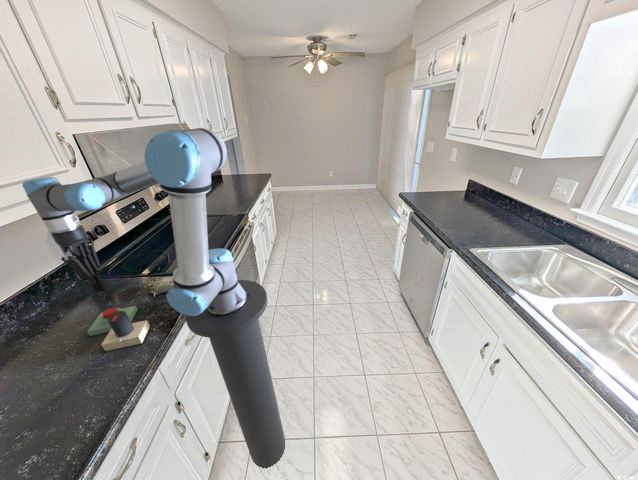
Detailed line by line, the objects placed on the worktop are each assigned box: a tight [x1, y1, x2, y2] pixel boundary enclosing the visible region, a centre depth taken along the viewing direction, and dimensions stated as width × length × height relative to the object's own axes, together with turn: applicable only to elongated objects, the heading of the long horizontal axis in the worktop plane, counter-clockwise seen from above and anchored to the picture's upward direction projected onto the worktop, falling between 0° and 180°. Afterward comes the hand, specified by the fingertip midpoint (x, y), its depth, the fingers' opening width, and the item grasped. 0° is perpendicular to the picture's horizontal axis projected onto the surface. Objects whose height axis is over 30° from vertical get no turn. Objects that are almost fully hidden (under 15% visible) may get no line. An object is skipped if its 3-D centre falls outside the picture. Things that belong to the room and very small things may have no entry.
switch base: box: [86, 305, 139, 337], centre depth 94 cm, size 12×10×4 cm
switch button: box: [102, 307, 117, 319], centre depth 93 cm, size 4×4×2 cm
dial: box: [108, 311, 134, 337], centre depth 85 cm, size 5×5×7 cm
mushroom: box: [145, 276, 174, 298], centre depth 111 cm, size 14×10×5 cm, turn 98°
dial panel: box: [100, 319, 151, 352], centre depth 87 cm, size 11×9×3 cm
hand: (101, 290), depth 89 cm, fingers closed
